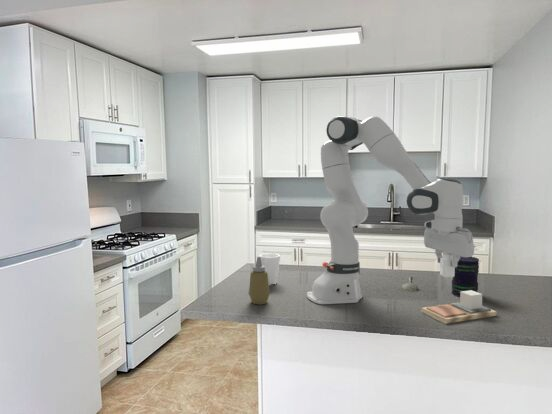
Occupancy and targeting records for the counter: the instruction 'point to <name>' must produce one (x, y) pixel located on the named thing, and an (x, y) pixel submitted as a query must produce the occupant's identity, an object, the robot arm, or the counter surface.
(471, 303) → the cream block
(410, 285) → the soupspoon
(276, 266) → the foam cup
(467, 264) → the storage jar
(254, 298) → the squeeze bottle
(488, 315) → the oak board
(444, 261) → the pepper shaker
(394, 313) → the counter surface
